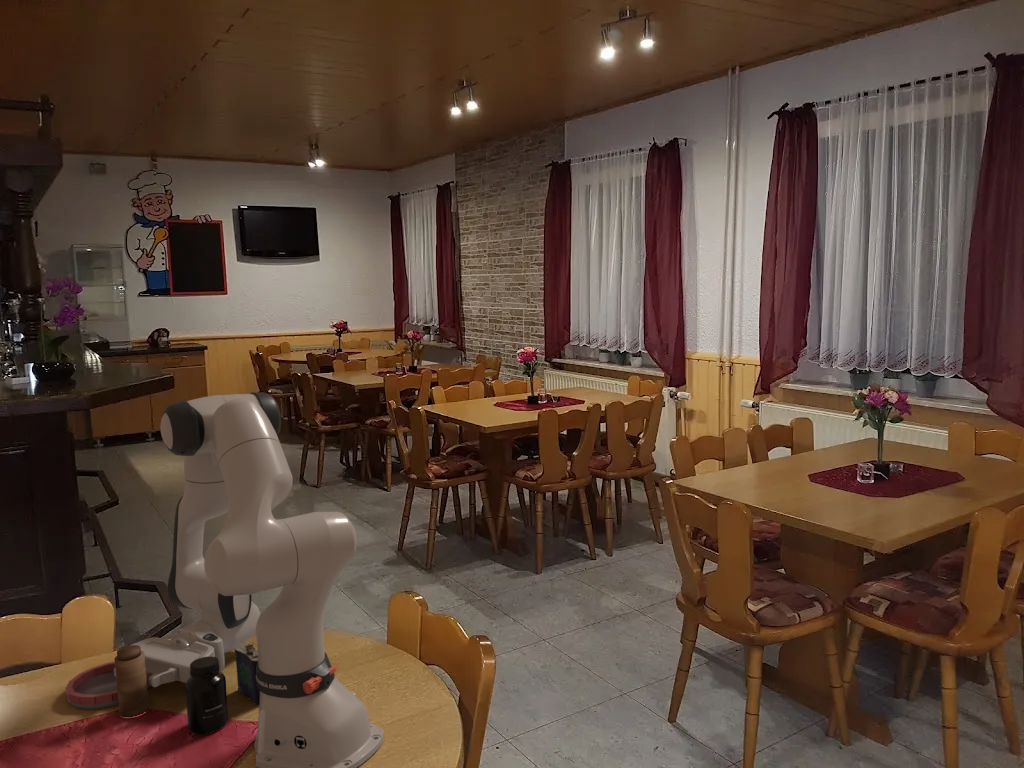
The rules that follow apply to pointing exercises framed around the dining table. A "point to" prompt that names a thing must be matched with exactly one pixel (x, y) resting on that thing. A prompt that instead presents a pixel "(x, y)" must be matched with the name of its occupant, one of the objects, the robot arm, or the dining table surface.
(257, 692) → the flask
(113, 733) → the dining table surface
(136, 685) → the pepper mill
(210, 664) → the supplement bottle
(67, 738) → the dining table surface
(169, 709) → the dining table surface
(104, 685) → the round tray
